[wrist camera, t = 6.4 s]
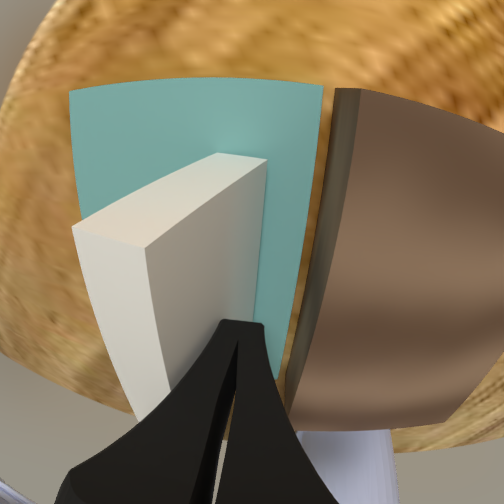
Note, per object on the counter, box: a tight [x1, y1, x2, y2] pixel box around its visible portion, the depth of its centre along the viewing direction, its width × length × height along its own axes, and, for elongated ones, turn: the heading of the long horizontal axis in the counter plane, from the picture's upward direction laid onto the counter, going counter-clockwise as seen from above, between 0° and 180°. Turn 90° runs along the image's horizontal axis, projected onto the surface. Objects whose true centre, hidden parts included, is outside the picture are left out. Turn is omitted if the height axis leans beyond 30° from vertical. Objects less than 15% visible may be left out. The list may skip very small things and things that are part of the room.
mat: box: [69, 78, 323, 379], centre depth 14 cm, size 16×10×1 cm, turn 176°
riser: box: [285, 88, 504, 432], centre depth 12 cm, size 16×10×4 cm, turn 177°
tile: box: [72, 153, 268, 422], centre depth 11 cm, size 10×7×2 cm
